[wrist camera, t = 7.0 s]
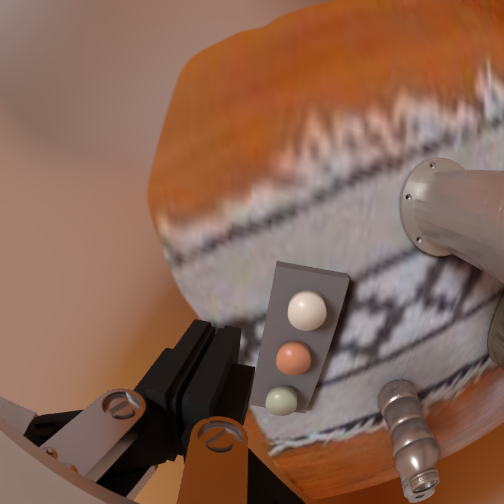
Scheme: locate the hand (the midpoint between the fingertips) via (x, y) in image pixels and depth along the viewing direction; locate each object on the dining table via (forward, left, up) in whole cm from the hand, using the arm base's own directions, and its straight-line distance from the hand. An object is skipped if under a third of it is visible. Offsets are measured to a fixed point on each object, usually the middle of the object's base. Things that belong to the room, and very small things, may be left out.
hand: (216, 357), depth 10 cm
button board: (-6, +15, -26) cm, 30 cm away
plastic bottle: (-24, +22, -26) cm, 42 cm away
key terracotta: (-6, +15, -25) cm, 29 cm away
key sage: (-6, +23, -24) cm, 33 cm away
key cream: (-6, +8, -24) cm, 26 cm away
